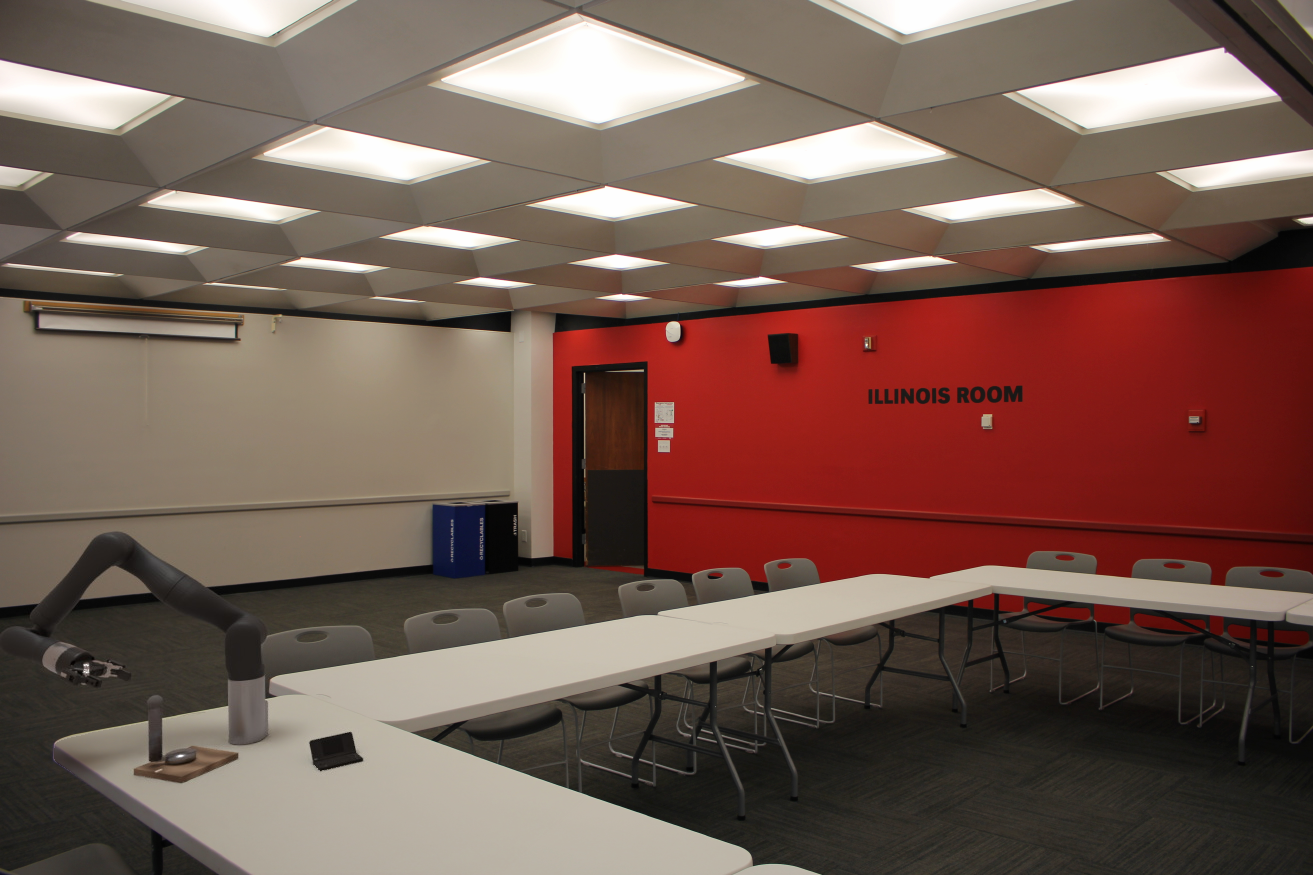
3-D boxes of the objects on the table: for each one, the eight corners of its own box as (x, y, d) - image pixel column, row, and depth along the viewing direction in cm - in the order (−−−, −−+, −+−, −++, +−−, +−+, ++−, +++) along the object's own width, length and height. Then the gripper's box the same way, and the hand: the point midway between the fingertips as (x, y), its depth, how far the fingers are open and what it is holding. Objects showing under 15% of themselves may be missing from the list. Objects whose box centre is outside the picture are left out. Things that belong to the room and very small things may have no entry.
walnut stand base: (192, 751, 230) (192, 744, 230) (238, 758, 224) (238, 751, 224) (133, 774, 214) (133, 767, 214) (181, 782, 209) (181, 775, 209)
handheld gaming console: (324, 767, 214) (317, 728, 219) (311, 779, 217) (305, 741, 222) (367, 760, 222) (359, 724, 227) (354, 773, 225) (347, 736, 230)
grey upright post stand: (194, 751, 224) (193, 686, 224) (198, 759, 218) (197, 692, 218) (146, 760, 218) (145, 693, 218) (148, 769, 212) (147, 699, 212)
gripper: (45, 651, 217) (93, 672, 212) (96, 641, 230) (142, 661, 226) (38, 680, 217) (86, 701, 212) (89, 669, 230) (135, 688, 226)
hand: (115, 680), depth 219 cm, fingers open, 8 cm apart
